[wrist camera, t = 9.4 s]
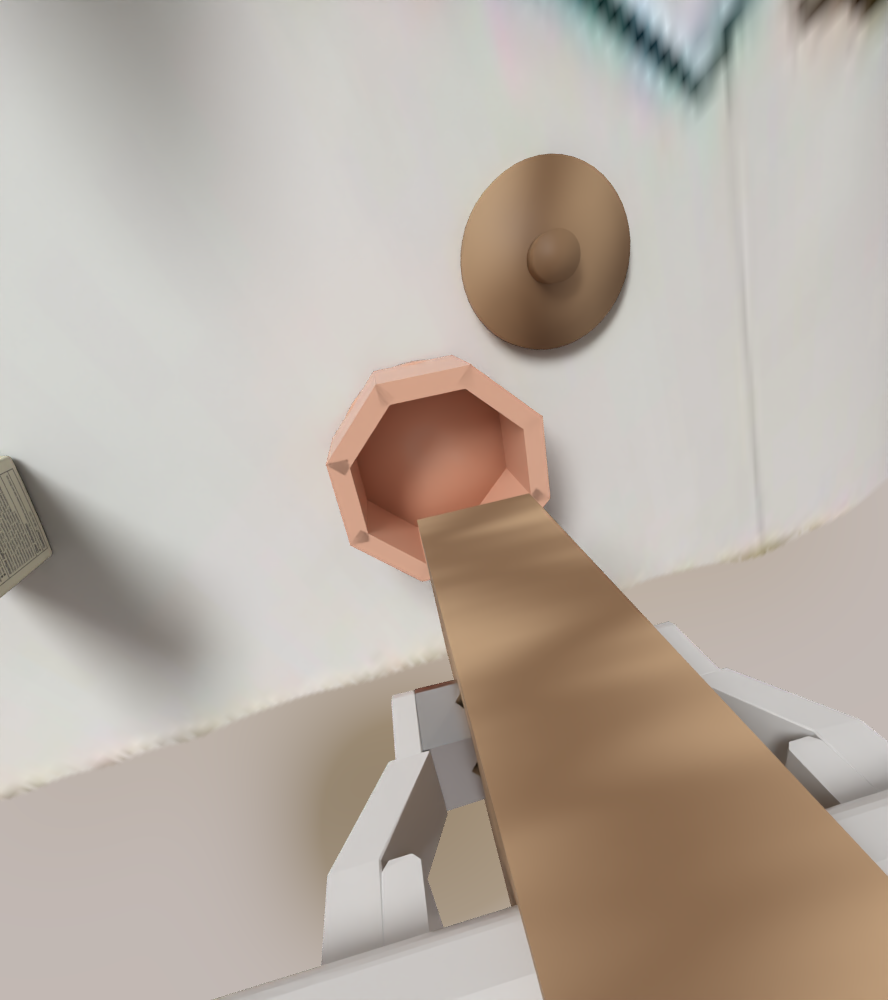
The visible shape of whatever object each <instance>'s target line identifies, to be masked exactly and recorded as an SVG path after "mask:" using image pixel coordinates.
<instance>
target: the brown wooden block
mask: <svg viewBox="0 0 888 1000" xmlns="http://www.w3.org/2000/svg"><path fill="white" fill-rule="evenodd" d="M417 523H418V527H419V532H420V536H421V540H422V545H423V549H424V553H425V558H426V562H427V567H428V571H429V575H430V580H431V584H432V588H433V593H434V597H435V601H436V606H437V610H438V615H439V619H440V623H441V628H442V632H443V636H444V641H445V645H446V650H447V654H448V657H449V661H450V665H451V669H452V673H453V677H454V680H455V679H457V682H458V685H459V689H460V693H461V697H462V702H463V706H464V709H465V712H466V716H467V720H468V724H469V727H470V731H471V735H472V739H473V744H474V748H475V753H476V757H477V764H478V768H479V772H480V775H481V780H482V784H483V789H484V793H485V798H486V799H484V800H485V804H486V808H487V812H488V816H489V819H490V824H491V828H492V831H493V835H494V840H495V843H496V847H497V851H498V855H499V859H500V863H501V867H502V871H503V875H504V879H505V883H506V887H507V891H508V895H509V899H510V903H511V907H512V906H515V905H517V906H518V909H519V912H520V916H521V919H522V923H523V927H524V930H525V934H526V938H527V942H528V945H529V949H530V953H531V956H532V960H533V964H534V968H535V971H536V975H537V979H538V983H539V986H540V990H541V994H542V998H543V1000H888V876H887V875H886V874H885V873H884V872H883V870H882V869H881V868H880V867H879V866H878V865H877V864H876V863H875V862H874V861H873V860H872V859H871V858H870V857H869V856H868V854H867V853H866V852H865V851H864V850H863V849H862V848H861V847H860V846H859V845H858V844H857V843H856V842H855V841H854V839H853V838H852V837H851V836H850V835H849V834H848V833H847V832H846V831H845V830H844V829H843V828H842V827H841V826H840V825H839V823H838V822H837V821H836V820H835V819H834V818H833V817H832V816H831V815H830V814H829V813H828V812H827V811H826V810H825V809H824V807H823V806H822V805H821V804H820V803H819V802H818V801H817V800H816V799H815V798H814V797H813V796H812V795H811V794H810V793H809V791H808V790H807V789H806V788H805V787H804V786H803V785H802V784H801V783H800V782H799V781H798V780H797V779H796V778H795V776H794V775H793V774H792V773H791V772H790V771H789V770H788V769H787V768H786V767H785V766H784V765H783V764H782V763H781V762H780V760H779V759H778V758H777V757H776V756H775V755H774V754H773V753H772V752H771V751H770V750H769V749H768V748H767V747H766V746H765V744H764V743H763V742H762V741H761V740H760V739H759V738H758V737H757V736H756V735H755V734H754V733H753V732H752V731H751V730H750V728H749V727H748V726H747V725H746V724H745V723H744V722H743V721H742V720H741V719H740V718H739V717H738V716H737V715H736V714H735V712H734V711H733V710H732V709H731V708H730V707H729V706H728V705H727V704H726V703H725V702H724V701H723V700H722V699H721V697H720V696H719V695H718V694H717V693H716V692H715V691H714V690H713V689H712V688H711V687H710V686H709V685H708V684H707V683H706V681H705V680H704V679H703V678H702V677H701V676H700V675H699V674H698V673H697V672H696V671H695V670H694V669H693V668H692V667H691V665H690V664H689V663H688V662H687V661H686V660H685V659H684V658H683V657H682V656H681V655H680V654H679V653H678V652H677V651H676V649H675V648H674V647H673V646H672V645H671V644H670V643H669V642H668V641H667V640H666V639H665V638H664V637H663V636H662V635H661V633H660V632H659V631H658V630H657V629H656V628H655V627H654V626H653V625H652V624H651V623H650V622H649V621H648V620H647V618H646V617H645V616H644V615H643V614H642V613H641V612H640V611H639V610H638V609H637V608H636V607H635V606H634V605H633V604H632V602H631V601H629V599H628V598H627V597H626V596H625V595H624V594H623V593H622V592H621V591H620V590H619V589H618V588H617V586H616V585H615V584H614V583H613V582H612V581H611V580H610V579H609V578H608V577H607V576H606V575H605V574H604V573H603V572H602V570H601V569H600V568H599V567H598V566H597V565H596V564H595V563H594V562H593V561H592V560H591V559H590V558H589V557H588V556H587V554H586V553H585V552H584V551H583V550H582V549H581V548H580V547H579V546H578V545H577V544H576V543H575V542H574V541H573V539H572V538H571V537H570V536H569V535H568V534H567V533H566V532H565V531H564V530H563V529H562V528H561V527H560V526H559V525H558V523H557V522H556V521H555V520H554V519H553V518H552V517H551V516H550V515H549V514H548V513H547V512H546V511H545V510H544V509H543V507H542V506H541V505H540V504H539V503H538V502H537V501H536V500H535V499H534V498H533V497H532V496H531V495H530V494H529V493H528V494H524V495H520V496H516V497H511V498H507V499H503V500H499V501H495V502H490V503H486V504H482V505H478V506H474V507H469V508H465V509H461V510H457V511H453V512H448V513H444V514H440V515H436V516H432V517H427V518H423V519H419V520H417Z"/></svg>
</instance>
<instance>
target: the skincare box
mask: <svg viewBox="0 0 888 1000" xmlns="http://www.w3.org/2000/svg"><path fill="white" fill-rule="evenodd" d="M51 555H52V551H51V548H50V546H49V543H48V540H47V538H46V535H45V533H44V530H43V528H42V525H41V523H40V521H39V518H38V516H37V514H36V511H35V509H34V507H33V504H32V502H31V500H30V498H29V495H28V493H27V491H26V489H25V487H24V484H23V482H22V480H21V478H20V476H19V474H18V471H17V469H16V467H15V465H14V463H13V461H12V459H11V457H9V456H0V598H1V597H2V596H3V595H4V594H6V593H7V592H8V591H9V590H11V589H12V588H13V587H14V586H15V585H17V584H18V583H19V582H20V581H21V580H22V579H24V578H25V577H26V576H27V575H28V574H29V573H31V572H32V571H33V570H34V569H36V568H37V567H38V566H39V565H40V564H42V563H43V562H44V561H45V560H46V559H48V558H49V557H50V556H51Z"/></svg>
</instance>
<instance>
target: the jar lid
mask: <svg viewBox="0 0 888 1000" xmlns="http://www.w3.org/2000/svg"><path fill="white" fill-rule="evenodd" d="M629 257H630V233H629V226H628V221H627V216H626V213H625V210H624V207H623V204H622V202H621V200H620V198H619V196H618V194H617V192H616V191H615V189H614V188H613V186H612V185H611V183H610V182H609V181H608V180H607V179H606V177H605V176H604V175H603V174H602V173H600V172H599V171H598V170H597V169H596V168H595V167H593V166H591V165H590V164H588V163H586V162H585V161H583V160H580V159H578V158H575V157H572V156H567V155H563V154H544V155H538V156H534V157H531V158H527V159H525V160H523V161H521V162H519V163H516V164H515V165H513V166H512V167H510V168H509V169H507V170H506V171H504V172H503V173H502V174H501V175H500V176H499V177H498V178H496V179H495V180H494V181H493V182H492V183H491V185H490V186H489V187H488V188H487V189H486V190H485V191H484V193H483V194H482V195H481V197H480V198H479V200H478V201H477V203H476V204H475V206H474V208H473V210H472V212H471V214H470V216H469V219H468V222H467V225H466V227H465V231H464V235H463V240H462V247H461V274H462V280H463V285H464V289H465V292H466V295H467V298H468V301H469V303H470V305H471V307H472V309H473V311H474V312H475V314H476V315H477V317H478V318H479V320H480V321H481V322H482V323H483V324H484V325H485V326H486V328H487V329H489V330H490V331H491V332H492V333H493V334H494V335H496V336H497V337H499V338H501V339H502V340H504V341H506V342H508V343H510V344H513V345H516V346H520V347H524V348H529V349H537V350H538V349H553V348H558V347H561V346H565V345H568V344H570V343H572V342H574V341H576V340H578V339H580V338H581V337H583V336H585V335H586V334H588V333H589V332H590V331H591V330H592V329H594V328H595V327H596V326H597V325H598V324H599V323H600V322H601V321H602V320H603V319H604V317H605V316H606V315H607V313H608V312H609V311H610V309H611V308H612V306H613V305H614V303H615V301H616V300H617V297H618V295H619V293H620V291H621V289H622V286H623V283H624V280H625V278H626V273H627V269H628V264H629Z"/></svg>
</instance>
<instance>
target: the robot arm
mask: <svg viewBox="0 0 888 1000" xmlns="http://www.w3.org/2000/svg"><path fill="white" fill-rule="evenodd" d="M654 627H655V628H656V629H657V630H658V631H659V632H660V633H661V635H662V636H663V637H664V638H665V639H666V640H667V641H668V642H669V643H670V644H671V645H672V646H673V647H674V648H675V649H676V651H677V652H678V653H679V654H680V655H681V656H682V657H683V658H684V659H685V660H686V661H687V662H688V663H689V664H690V665H691V667H692V668H693V669H694V670H695V671H696V672H697V673H698V674H699V675H700V676H701V677H702V678H703V679H704V680H705V681H706V683H707V684H708V685H709V686H710V687H711V688H712V689H713V690H714V691H715V692H716V693H717V694H718V695H719V696H720V697H721V699H722V700H723V701H724V702H725V703H726V704H727V705H728V706H729V707H730V708H731V709H732V710H733V711H734V712H735V714H736V715H737V716H738V717H739V718H740V719H741V720H742V721H743V722H744V723H745V724H746V725H747V726H748V727H749V728H750V730H751V731H752V732H753V733H754V734H755V735H756V736H757V737H758V738H759V739H760V740H761V741H762V742H763V743H764V744H765V746H766V747H767V748H768V749H769V750H770V751H771V752H772V753H773V754H774V755H775V756H776V757H777V758H778V759H779V760H780V762H781V763H782V764H783V765H784V766H785V767H786V768H787V769H788V770H789V771H790V772H791V773H792V774H793V775H794V776H795V778H796V779H797V780H798V781H799V782H800V783H801V784H802V785H803V786H804V787H805V788H806V789H807V790H808V791H809V793H810V794H811V795H812V796H813V797H814V798H815V799H816V800H817V801H818V802H819V803H820V804H821V805H822V806H823V807H824V809H825V810H826V811H827V812H828V813H829V814H830V815H831V816H832V817H833V818H834V819H835V820H836V821H837V822H838V823H839V825H840V826H841V827H842V828H843V829H844V830H845V831H846V832H847V833H848V834H849V835H850V836H851V837H852V838H853V839H854V841H855V842H856V843H857V844H858V845H859V846H860V847H861V848H862V849H863V850H864V851H865V852H866V853H867V854H868V856H869V857H870V858H871V859H872V860H873V861H874V862H875V863H876V864H877V865H878V866H879V867H880V868H881V869H882V870H883V872H884V873H885V874H886V875H887V876H888V741H886V740H885V739H884V738H883V737H881V736H880V735H879V734H878V733H877V732H875V731H874V730H873V729H872V728H870V727H869V726H868V725H867V724H865V723H864V722H863V721H862V720H860V719H858V718H856V717H853V716H850V715H848V714H845V713H843V712H840V711H838V710H835V709H832V708H830V707H827V706H825V705H822V704H819V703H817V702H814V701H811V700H809V699H807V698H804V697H801V696H799V695H796V694H793V693H791V692H789V691H786V690H783V689H781V688H778V687H776V686H773V685H770V684H767V683H765V682H763V681H760V680H758V679H755V678H752V677H750V676H747V675H745V674H742V673H739V672H737V671H734V670H732V669H729V668H723V669H720V668H719V667H718V666H717V665H716V664H715V663H714V662H713V661H711V659H710V658H708V657H707V656H706V655H705V654H704V653H703V652H702V651H701V650H700V649H699V648H698V647H697V646H696V645H695V644H694V643H693V642H692V641H691V640H690V639H689V638H688V637H687V636H686V635H685V634H684V633H683V632H681V630H680V629H679V628H678V627H677V626H676V625H675V624H674V623H671V622H665V623H661V624H658V625H654ZM392 715H393V729H394V743H395V756H396V760H393V761H390V762H389V763H388V764H387V766H386V768H385V770H384V772H383V774H382V776H381V777H380V780H379V781H378V783H377V785H376V787H375V789H374V790H373V793H372V794H371V796H370V798H369V800H368V802H367V804H366V805H365V807H364V809H363V811H362V813H361V815H360V816H359V819H358V820H357V822H356V824H355V826H354V827H353V830H352V831H351V833H350V835H349V837H348V839H347V840H346V842H345V844H344V846H343V848H342V850H341V852H340V854H339V856H338V857H337V859H336V861H335V863H334V865H333V866H332V868H331V870H330V872H329V874H328V876H327V890H326V905H325V920H324V935H323V949H322V964H321V966H319V967H316V968H313V969H309V970H306V971H303V972H300V973H296V974H293V975H290V976H287V977H284V978H281V979H277V980H274V981H271V982H267V983H264V984H261V985H258V986H255V987H251V988H248V989H245V990H242V991H238V992H235V993H232V994H229V995H225V996H223V997H219V998H216V999H213V1000H543V998H542V994H541V990H540V986H539V983H538V979H537V975H536V971H535V968H534V964H533V960H532V956H531V953H530V949H529V945H528V942H527V938H526V934H525V930H524V927H523V923H522V919H521V916H520V912H519V909H518V906H517V905H515V906H512V907H509V908H506V909H503V910H499V911H496V912H493V913H490V914H487V915H483V916H480V917H477V918H473V919H470V920H467V921H464V922H461V923H457V924H454V925H451V926H448V927H445V928H444V927H443V924H442V921H441V919H440V916H439V913H438V909H437V907H436V903H435V900H434V897H433V895H432V891H431V888H430V885H429V883H428V879H427V878H428V875H429V872H430V869H431V866H432V862H433V859H434V856H435V853H436V849H437V846H438V843H439V840H440V837H441V833H442V830H443V827H444V824H445V820H446V817H447V811H448V810H452V809H454V808H458V807H461V806H464V805H467V804H470V803H473V802H476V801H479V800H482V799H486V798H485V793H484V789H483V784H482V780H481V775H480V772H479V768H478V764H477V757H476V753H475V748H474V744H473V739H472V735H471V731H470V727H469V724H468V720H467V716H466V712H465V709H464V706H463V702H462V697H461V693H460V689H459V685H458V682H457V679H455V680H451V681H447V682H443V683H439V684H435V685H431V686H426V687H422V688H418V689H415V690H412V691H408V692H404V693H399V694H395V695H392Z"/></svg>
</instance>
